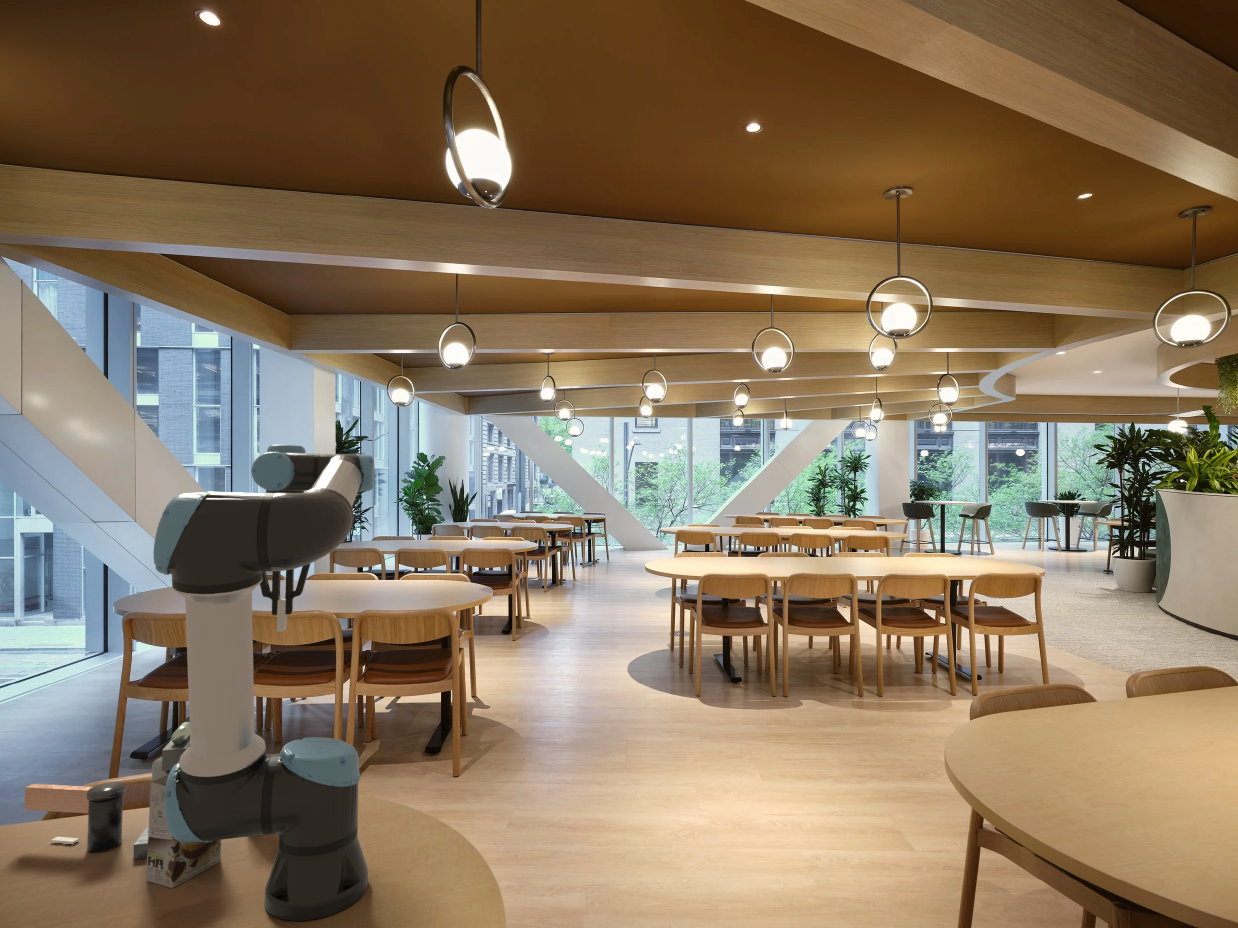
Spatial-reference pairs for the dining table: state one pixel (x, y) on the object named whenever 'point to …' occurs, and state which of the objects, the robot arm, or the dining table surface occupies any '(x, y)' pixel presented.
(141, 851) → the level instrument
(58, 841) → the index mark
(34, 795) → the wooden-handled mallet
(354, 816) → the robot arm
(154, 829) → the coffee box
